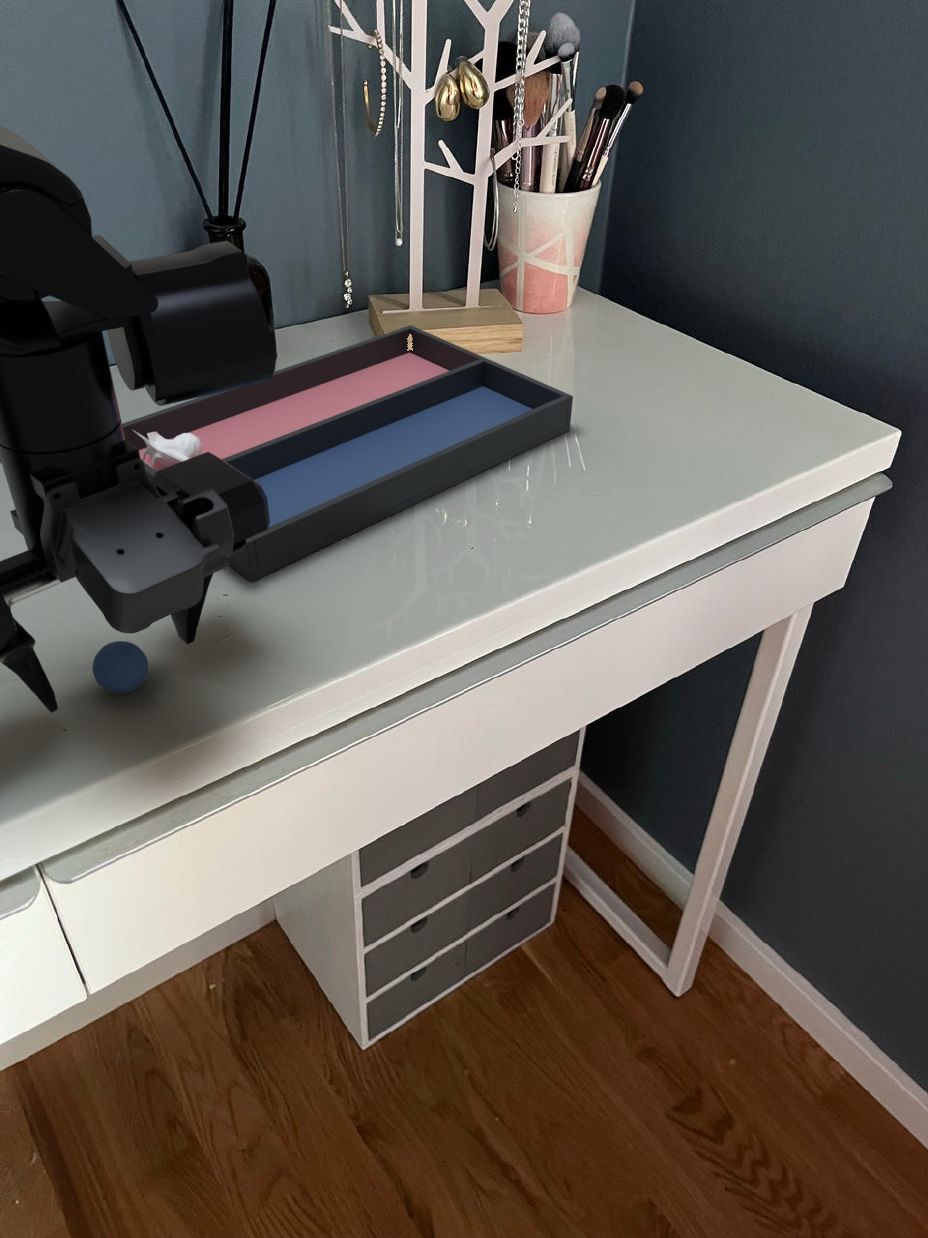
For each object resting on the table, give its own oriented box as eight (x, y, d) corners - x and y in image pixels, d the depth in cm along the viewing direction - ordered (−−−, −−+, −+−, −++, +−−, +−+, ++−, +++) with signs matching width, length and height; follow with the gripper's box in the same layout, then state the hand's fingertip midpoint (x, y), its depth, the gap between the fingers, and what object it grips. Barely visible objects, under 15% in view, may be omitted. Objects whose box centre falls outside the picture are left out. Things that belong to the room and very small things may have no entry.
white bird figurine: (234, 471, 74) (205, 424, 70) (184, 510, 72) (152, 464, 69) (182, 431, 78) (152, 385, 75) (134, 467, 77) (102, 421, 73)
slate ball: (114, 712, 55) (104, 672, 54) (88, 686, 57) (77, 646, 55) (162, 688, 57) (153, 648, 55) (135, 663, 59) (126, 623, 57)
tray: (251, 582, 65) (246, 543, 63) (101, 469, 76) (93, 433, 74) (570, 429, 83) (573, 395, 81) (411, 356, 94) (410, 324, 92)
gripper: (-77, 577, 37) (28, 845, 47) (320, 422, 47) (339, 668, 57) (-178, 466, 43) (-67, 723, 53) (193, 351, 54) (229, 583, 63)
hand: (121, 672), depth 56 cm, fingers open, 8 cm apart
